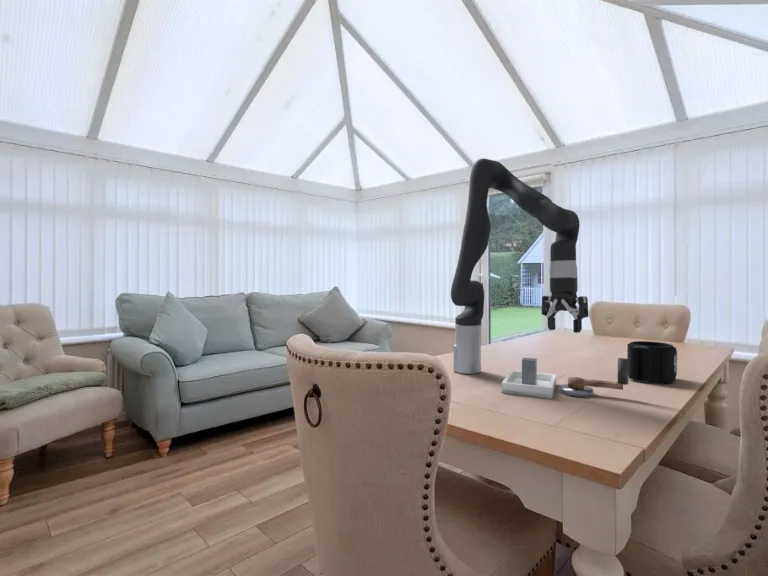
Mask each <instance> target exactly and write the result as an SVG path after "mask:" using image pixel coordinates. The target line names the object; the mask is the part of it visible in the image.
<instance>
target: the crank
mask: <svg viewBox="0 0 768 576" xmlns="http://www.w3.org/2000/svg"><path fill="white" fill-rule="evenodd" d="M567 384H568V387H569V388H571V389H584V386H587V387H591V388H592V387H593V388H603V389H605V388H606V389H613V390H623V391H624V386H625V385H626V386H627V385H629V376H628V359H627V358H626V357H618V358H617V381H611V380H601V379H600V380H599V379H589V378H583V377H577V376H569V377H567Z"/></svg>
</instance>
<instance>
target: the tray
mask: <svg viewBox="0 0 768 576" xmlns="http://www.w3.org/2000/svg"><path fill="white" fill-rule="evenodd" d="M556 384H557V374H556V373H555V374H553V373H543V372H537V385H526V384H522V370H513V369H512V370H510V371H509V372H508V373H507V375H506V377H505V378H504V379H503V381H501V393H503V394H510V395H518V396H525V397H536V398H541V399H542V398H544V399H553V396H554V393H555V389H556Z"/></svg>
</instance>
